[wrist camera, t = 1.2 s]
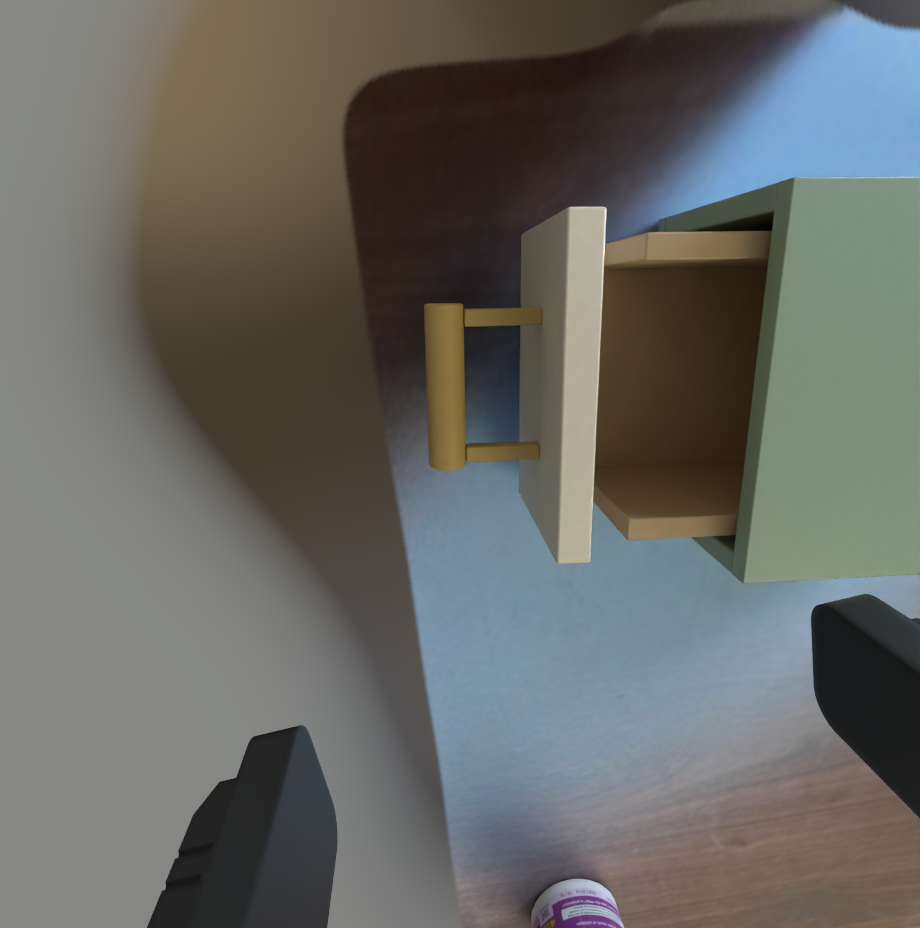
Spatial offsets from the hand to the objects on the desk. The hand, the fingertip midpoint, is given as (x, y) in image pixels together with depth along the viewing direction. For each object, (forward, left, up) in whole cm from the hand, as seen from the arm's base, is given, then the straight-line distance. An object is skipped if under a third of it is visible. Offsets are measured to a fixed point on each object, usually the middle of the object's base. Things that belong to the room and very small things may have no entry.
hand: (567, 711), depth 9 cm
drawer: (+3, +7, -19) cm, 20 cm away
